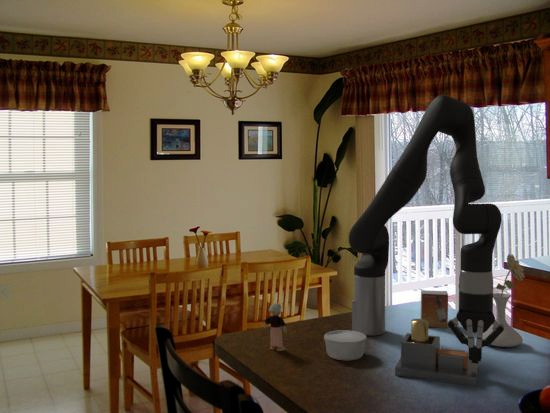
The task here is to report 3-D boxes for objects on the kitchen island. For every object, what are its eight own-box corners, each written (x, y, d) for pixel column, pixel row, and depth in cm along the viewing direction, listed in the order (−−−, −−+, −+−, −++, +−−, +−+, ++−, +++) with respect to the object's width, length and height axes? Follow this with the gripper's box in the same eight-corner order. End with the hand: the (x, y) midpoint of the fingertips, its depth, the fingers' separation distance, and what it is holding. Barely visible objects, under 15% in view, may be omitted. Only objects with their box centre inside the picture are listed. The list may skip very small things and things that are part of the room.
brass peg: (410, 363, 136) (410, 322, 136) (412, 357, 140) (412, 318, 139) (427, 364, 135) (427, 323, 134) (429, 359, 138) (429, 319, 138)
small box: (420, 327, 174) (421, 293, 173) (420, 322, 179) (420, 289, 179) (448, 328, 172) (448, 294, 171) (446, 323, 178) (447, 290, 177)
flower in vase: (502, 353, 149) (504, 259, 147) (469, 341, 159) (470, 253, 157) (536, 345, 155) (538, 255, 153) (502, 335, 165) (503, 250, 163)
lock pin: (427, 364, 135) (427, 351, 135) (428, 360, 138) (428, 348, 138) (466, 368, 132) (466, 356, 131) (467, 364, 134) (467, 352, 134)
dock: (395, 375, 134) (395, 344, 133) (404, 359, 145) (404, 330, 144) (475, 386, 127) (476, 353, 126) (478, 368, 138) (479, 338, 137)
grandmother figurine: (291, 348, 154) (291, 302, 154) (285, 352, 151) (285, 305, 150) (266, 344, 158) (265, 300, 157) (260, 348, 154) (259, 303, 153)
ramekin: (341, 345, 157) (341, 327, 156) (375, 355, 149) (375, 335, 148) (315, 355, 149) (315, 335, 148) (349, 365, 141) (349, 345, 141)
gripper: (506, 288, 132) (505, 360, 133) (448, 284, 137) (447, 354, 138) (506, 294, 125) (505, 371, 126) (444, 290, 130) (443, 364, 131)
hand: (474, 362), depth 132 cm, fingers closed
